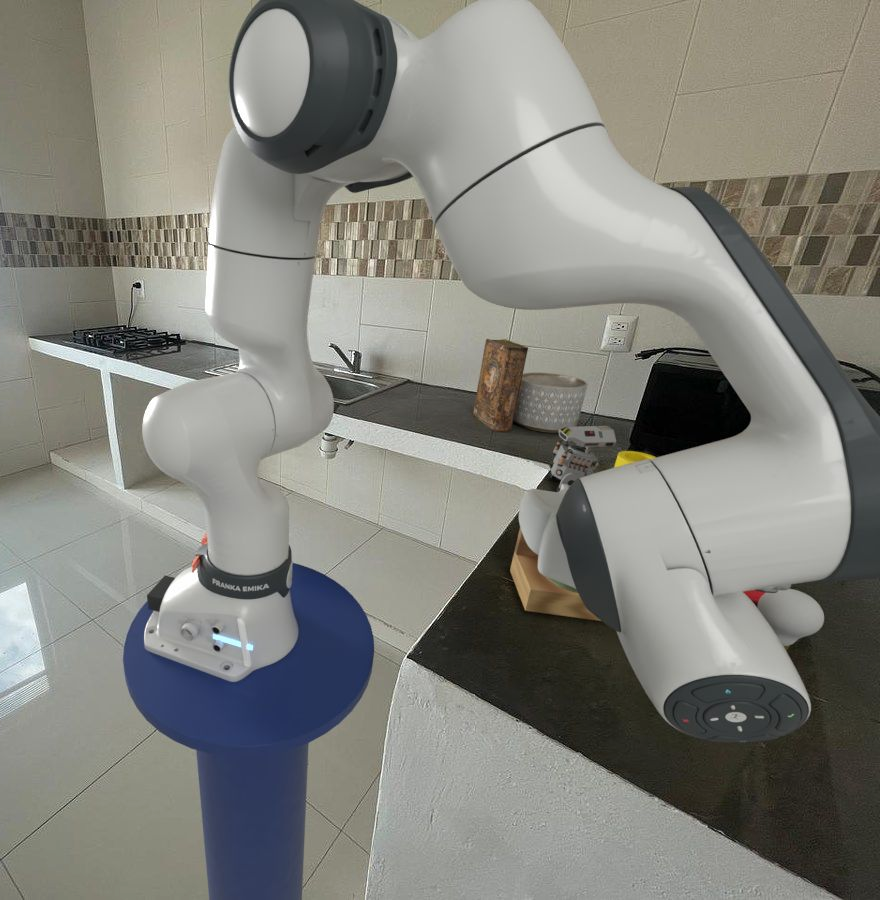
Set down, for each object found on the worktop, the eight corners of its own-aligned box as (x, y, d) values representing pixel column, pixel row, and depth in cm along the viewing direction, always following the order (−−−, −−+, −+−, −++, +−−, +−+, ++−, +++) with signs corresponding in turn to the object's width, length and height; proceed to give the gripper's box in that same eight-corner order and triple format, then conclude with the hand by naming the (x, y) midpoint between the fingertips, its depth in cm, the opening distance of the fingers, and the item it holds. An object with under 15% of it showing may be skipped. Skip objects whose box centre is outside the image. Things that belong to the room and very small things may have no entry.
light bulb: (799, 653, 65) (832, 593, 61) (798, 678, 61) (834, 616, 57) (741, 630, 68) (768, 573, 65) (736, 652, 65) (766, 593, 61)
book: (513, 432, 144) (530, 348, 134) (495, 432, 144) (511, 348, 134) (489, 414, 159) (503, 338, 149) (472, 414, 159) (485, 338, 149)
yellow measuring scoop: (614, 485, 111) (621, 461, 109) (608, 471, 118) (615, 448, 116) (711, 501, 104) (721, 476, 102) (699, 485, 112) (708, 461, 109)
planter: (501, 414, 160) (509, 371, 154) (559, 416, 158) (570, 373, 153) (521, 433, 142) (531, 386, 137) (587, 436, 141) (600, 388, 135)
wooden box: (525, 610, 72) (539, 554, 68) (509, 570, 81) (521, 519, 77) (644, 627, 69) (666, 569, 65) (614, 583, 78) (632, 530, 74)
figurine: (608, 501, 104) (628, 437, 98) (549, 493, 107) (565, 430, 101) (597, 484, 112) (615, 423, 106) (542, 476, 115) (557, 417, 109)
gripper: (820, 564, 38) (738, 489, 50) (535, 514, 45) (522, 458, 56) (786, 626, 40) (715, 540, 52) (520, 570, 47) (511, 505, 59)
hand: (613, 497), depth 55 cm, fingers open, 8 cm apart
